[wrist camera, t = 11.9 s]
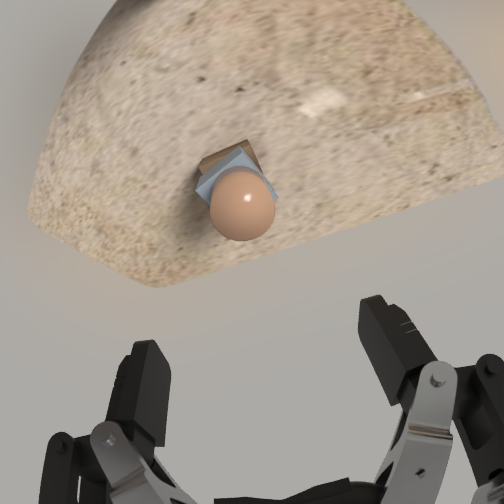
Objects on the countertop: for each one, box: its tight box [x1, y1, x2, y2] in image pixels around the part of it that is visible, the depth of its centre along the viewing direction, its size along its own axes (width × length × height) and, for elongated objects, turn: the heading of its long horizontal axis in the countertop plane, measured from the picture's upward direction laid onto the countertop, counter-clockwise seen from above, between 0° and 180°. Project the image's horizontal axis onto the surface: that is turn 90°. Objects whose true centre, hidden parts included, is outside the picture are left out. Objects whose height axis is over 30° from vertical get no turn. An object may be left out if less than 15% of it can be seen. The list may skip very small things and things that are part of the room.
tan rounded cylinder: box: [210, 166, 275, 241], centre depth 24 cm, size 5×5×5 cm
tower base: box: [199, 139, 263, 175], centre depth 32 cm, size 6×6×5 cm
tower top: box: [195, 146, 278, 206], centre depth 28 cm, size 6×6×5 cm
